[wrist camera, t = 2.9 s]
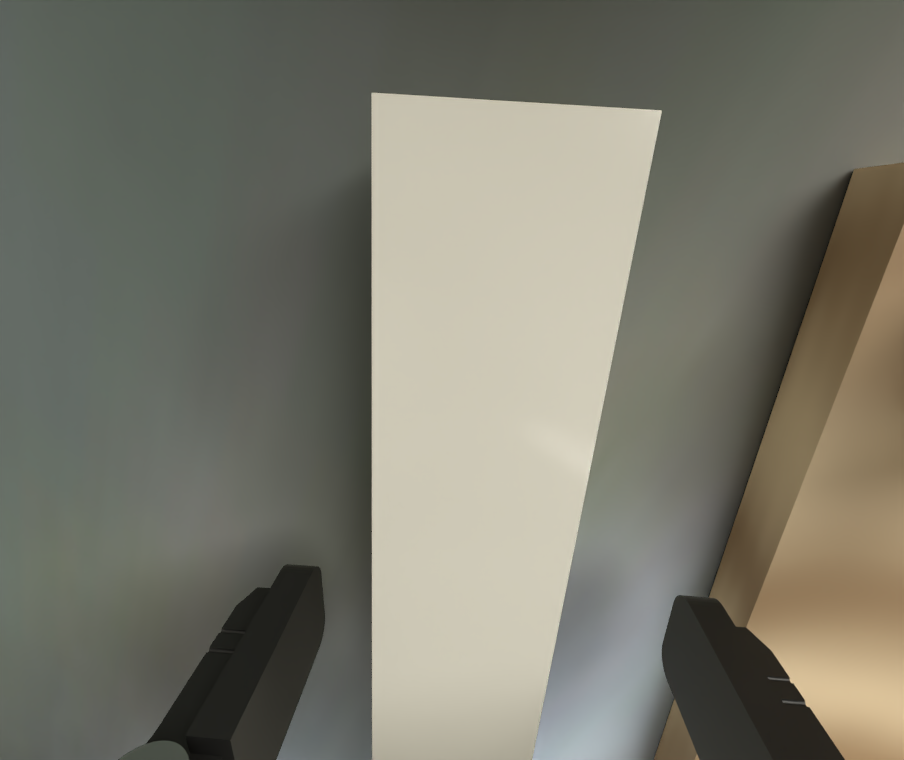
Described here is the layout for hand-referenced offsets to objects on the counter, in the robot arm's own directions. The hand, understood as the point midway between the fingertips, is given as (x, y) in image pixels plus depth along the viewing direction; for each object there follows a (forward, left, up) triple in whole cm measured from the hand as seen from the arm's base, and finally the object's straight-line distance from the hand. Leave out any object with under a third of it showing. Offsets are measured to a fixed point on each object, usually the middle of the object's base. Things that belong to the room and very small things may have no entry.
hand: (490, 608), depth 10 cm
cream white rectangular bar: (-1, 0, -3) cm, 3 cm away
